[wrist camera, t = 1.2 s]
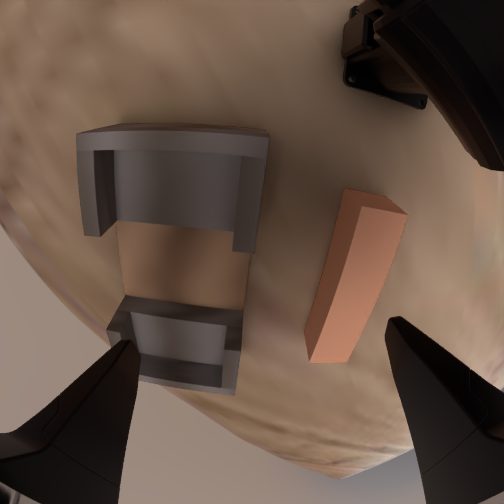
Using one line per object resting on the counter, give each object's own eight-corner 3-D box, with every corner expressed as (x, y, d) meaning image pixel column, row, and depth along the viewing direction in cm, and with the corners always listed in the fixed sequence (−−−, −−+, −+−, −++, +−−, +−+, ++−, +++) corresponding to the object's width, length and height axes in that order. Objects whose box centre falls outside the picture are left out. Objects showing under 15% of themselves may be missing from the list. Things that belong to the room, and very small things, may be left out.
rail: (343, 187, 19) (361, 206, 16) (384, 195, 19) (408, 215, 16) (303, 330, 26) (309, 362, 23) (337, 332, 26) (346, 362, 23)
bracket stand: (265, 130, 17) (269, 138, 12) (237, 350, 27) (234, 395, 22) (118, 124, 17) (76, 133, 12) (138, 335, 27) (121, 376, 22)
